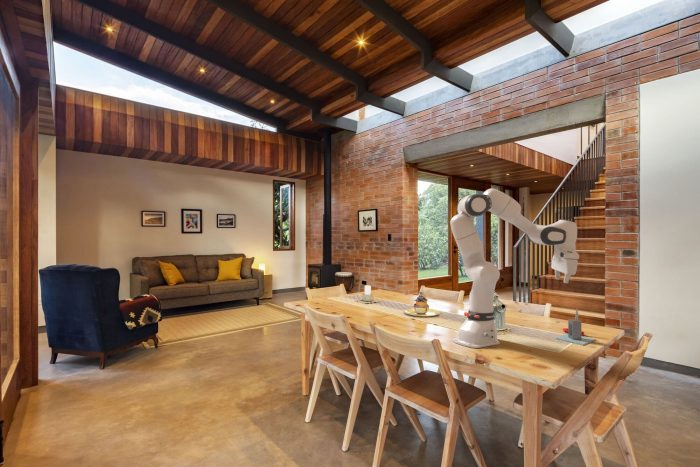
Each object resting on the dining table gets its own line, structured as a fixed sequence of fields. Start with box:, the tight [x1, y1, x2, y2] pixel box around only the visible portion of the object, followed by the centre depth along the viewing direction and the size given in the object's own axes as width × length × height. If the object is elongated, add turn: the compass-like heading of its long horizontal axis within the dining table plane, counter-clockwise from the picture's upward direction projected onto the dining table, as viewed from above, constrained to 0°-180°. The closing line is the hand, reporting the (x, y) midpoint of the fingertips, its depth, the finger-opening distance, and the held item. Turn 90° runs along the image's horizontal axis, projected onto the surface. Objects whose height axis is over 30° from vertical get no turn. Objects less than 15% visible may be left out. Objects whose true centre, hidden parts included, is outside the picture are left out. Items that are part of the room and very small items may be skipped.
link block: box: [567, 318, 582, 340], centre depth 168 cm, size 4×4×9 cm
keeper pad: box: [555, 332, 596, 346], centre depth 168 cm, size 13×12×1 cm
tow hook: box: [562, 308, 585, 335], centre depth 180 cm, size 8×13×9 cm
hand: (561, 281), depth 169 cm, fingers open, 8 cm apart
